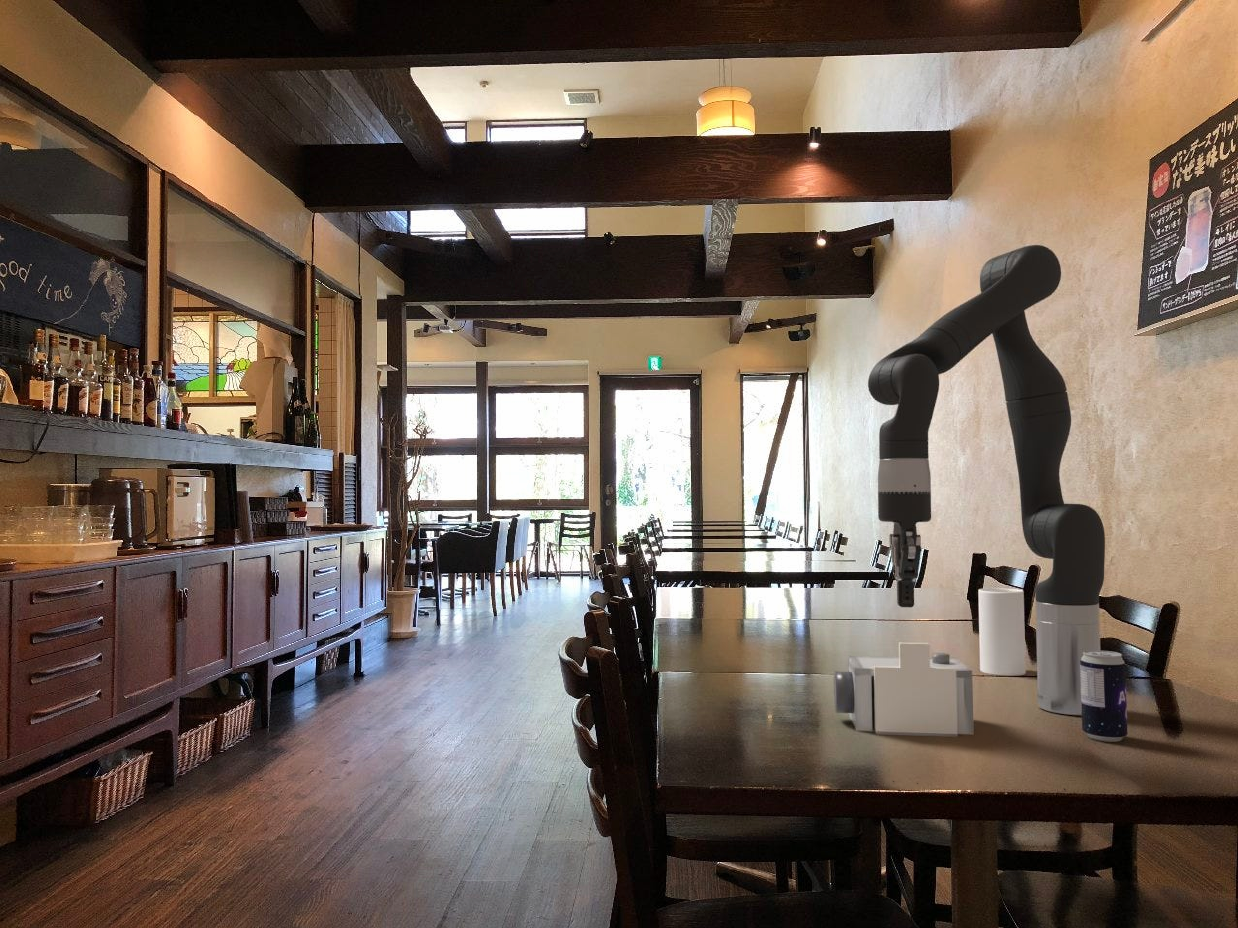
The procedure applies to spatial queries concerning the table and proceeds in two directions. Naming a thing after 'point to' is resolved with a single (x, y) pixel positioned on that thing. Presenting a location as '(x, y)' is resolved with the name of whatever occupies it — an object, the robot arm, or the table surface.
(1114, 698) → the beverage can
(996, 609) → the cup
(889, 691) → the side door
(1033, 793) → the table surface
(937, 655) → the camera housing
